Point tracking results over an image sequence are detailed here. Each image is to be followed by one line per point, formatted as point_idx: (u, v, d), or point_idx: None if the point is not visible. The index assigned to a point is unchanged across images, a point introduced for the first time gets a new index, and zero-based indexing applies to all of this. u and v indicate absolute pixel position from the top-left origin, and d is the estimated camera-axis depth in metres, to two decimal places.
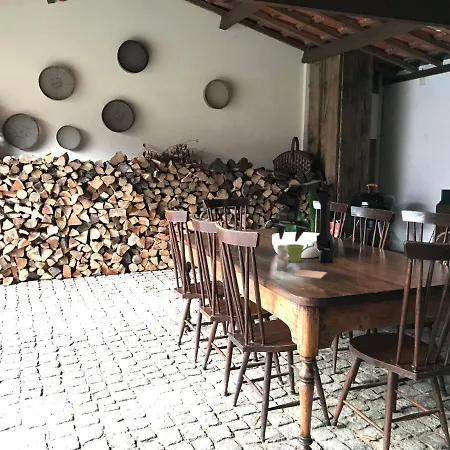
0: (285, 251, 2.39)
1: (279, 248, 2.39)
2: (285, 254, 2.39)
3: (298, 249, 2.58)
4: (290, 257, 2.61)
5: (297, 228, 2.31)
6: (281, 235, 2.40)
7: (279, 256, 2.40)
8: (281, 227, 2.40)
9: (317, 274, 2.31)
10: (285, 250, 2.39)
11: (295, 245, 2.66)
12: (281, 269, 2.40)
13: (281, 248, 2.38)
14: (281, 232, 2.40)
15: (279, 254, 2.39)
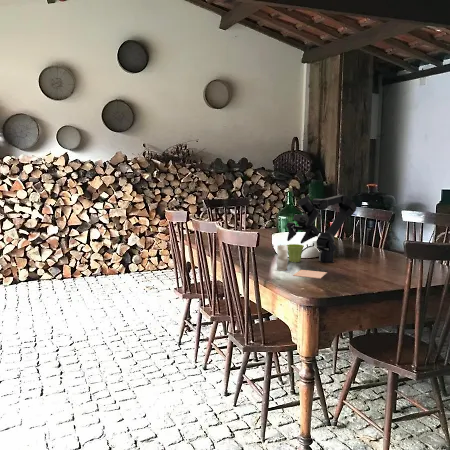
0: (285, 251, 2.39)
1: (279, 248, 2.39)
2: (285, 254, 2.39)
3: (298, 249, 2.58)
4: (290, 257, 2.61)
5: (307, 230, 2.41)
6: (289, 237, 2.49)
7: (279, 256, 2.40)
8: (292, 231, 2.51)
9: (317, 274, 2.31)
10: (285, 250, 2.39)
11: (295, 245, 2.66)
12: (281, 269, 2.40)
13: (281, 248, 2.38)
14: (290, 235, 2.50)
15: (279, 254, 2.39)
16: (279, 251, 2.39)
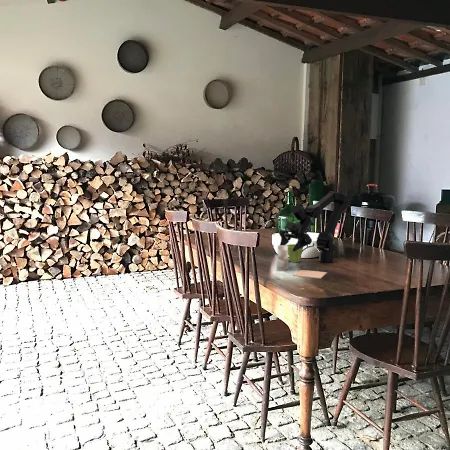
0: (285, 251, 2.39)
1: (279, 248, 2.39)
2: (285, 254, 2.39)
3: (298, 249, 2.58)
4: (290, 257, 2.61)
5: (299, 238, 2.39)
6: None
7: (279, 256, 2.40)
8: (285, 238, 2.48)
9: (317, 274, 2.31)
10: (285, 250, 2.39)
11: None
12: (281, 269, 2.40)
13: (281, 248, 2.38)
14: (283, 243, 2.47)
15: (279, 254, 2.39)
16: (279, 251, 2.39)
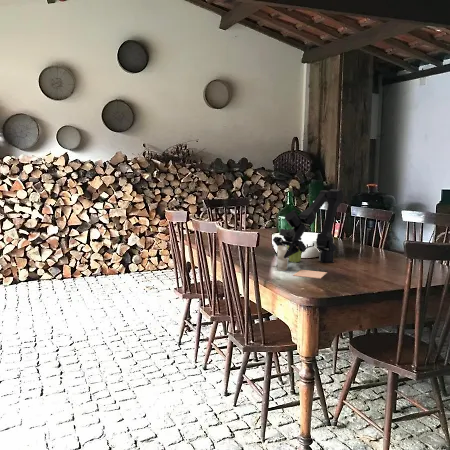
0: (285, 251, 2.39)
1: (279, 248, 2.39)
2: None
3: None
4: (290, 257, 2.61)
5: (290, 245, 2.38)
6: None
7: (279, 256, 2.40)
8: None
9: (317, 274, 2.31)
10: (285, 250, 2.39)
11: None
12: (281, 269, 2.40)
13: (281, 248, 2.38)
14: None
15: (279, 254, 2.39)
16: (279, 251, 2.39)
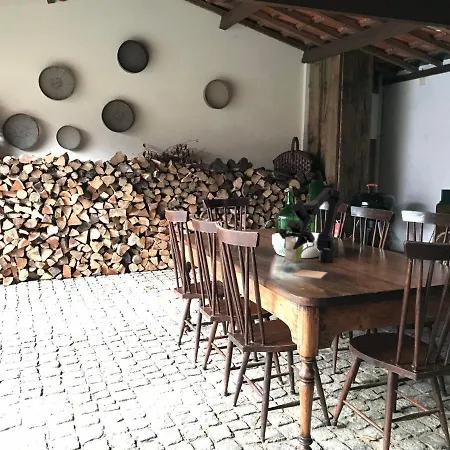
0: (294, 242, 2.35)
1: (288, 240, 2.35)
2: None
3: (298, 249, 2.58)
4: None
5: (299, 236, 2.34)
6: None
7: (288, 248, 2.35)
8: None
9: (317, 274, 2.31)
10: (293, 242, 2.34)
11: None
12: (290, 261, 2.35)
13: (290, 240, 2.34)
14: None
15: (288, 246, 2.35)
16: (288, 243, 2.35)
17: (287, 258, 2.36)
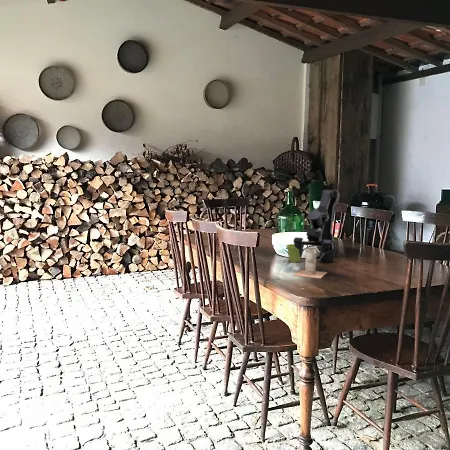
0: (315, 254, 2.30)
1: (310, 251, 2.29)
2: (315, 257, 2.30)
3: None
4: (290, 257, 2.61)
5: (324, 245, 2.29)
6: (301, 254, 2.33)
7: (310, 260, 2.29)
8: (302, 246, 2.35)
9: (317, 274, 2.31)
10: (315, 253, 2.30)
11: None
12: (312, 273, 2.30)
13: (312, 251, 2.29)
14: (301, 251, 2.34)
15: (310, 257, 2.29)
16: (310, 254, 2.29)
17: (308, 270, 2.30)
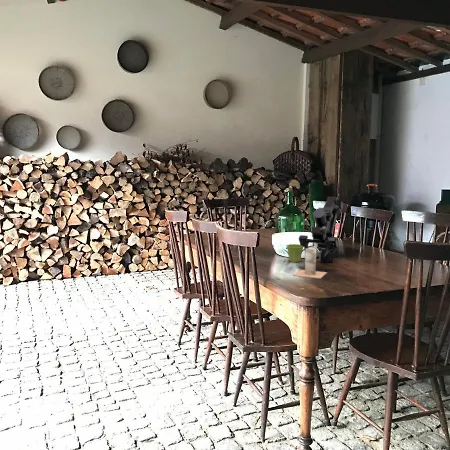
0: (315, 254, 2.30)
1: (309, 251, 2.29)
2: (315, 257, 2.30)
3: (298, 249, 2.58)
4: (290, 257, 2.61)
5: (328, 243, 2.37)
6: None
7: (309, 260, 2.29)
8: (307, 244, 2.43)
9: (317, 274, 2.31)
10: (315, 253, 2.30)
11: (295, 245, 2.66)
12: (311, 273, 2.30)
13: (312, 251, 2.29)
14: None
15: (309, 258, 2.29)
16: (309, 254, 2.29)
17: (308, 270, 2.30)
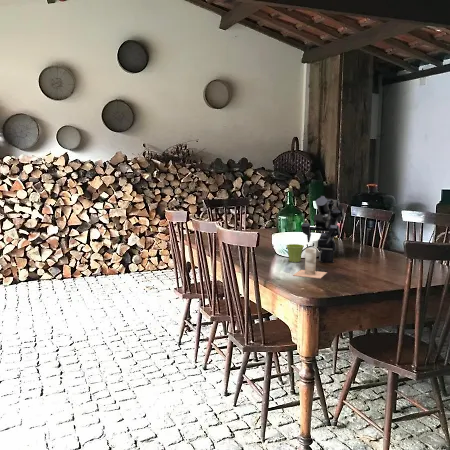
0: (315, 254, 2.30)
1: (309, 251, 2.29)
2: (315, 257, 2.30)
3: (298, 249, 2.58)
4: (290, 257, 2.61)
5: (330, 230, 2.41)
6: (309, 238, 2.45)
7: (309, 260, 2.29)
8: (309, 232, 2.47)
9: (317, 274, 2.31)
10: (315, 253, 2.30)
11: (295, 245, 2.66)
12: (311, 273, 2.30)
13: (312, 251, 2.29)
14: (309, 236, 2.45)
15: (309, 258, 2.29)
16: (309, 254, 2.29)
17: (308, 270, 2.30)
